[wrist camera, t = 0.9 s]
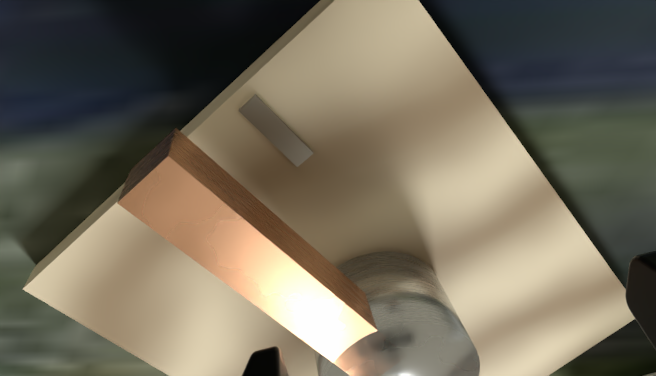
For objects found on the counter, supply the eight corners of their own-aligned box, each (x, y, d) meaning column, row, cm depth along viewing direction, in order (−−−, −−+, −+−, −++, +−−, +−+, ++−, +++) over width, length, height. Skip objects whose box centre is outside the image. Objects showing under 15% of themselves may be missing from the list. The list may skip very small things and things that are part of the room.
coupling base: (623, 294, 28) (645, 316, 26) (356, 472, 31) (362, 501, 30) (374, -50, 18) (387, -46, 16) (28, 272, 21) (12, 300, 20)
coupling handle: (466, 303, 24) (508, 376, 20) (364, 376, 25) (387, 457, 21) (225, 62, 17) (222, 105, 13) (102, 178, 18) (68, 247, 14)
